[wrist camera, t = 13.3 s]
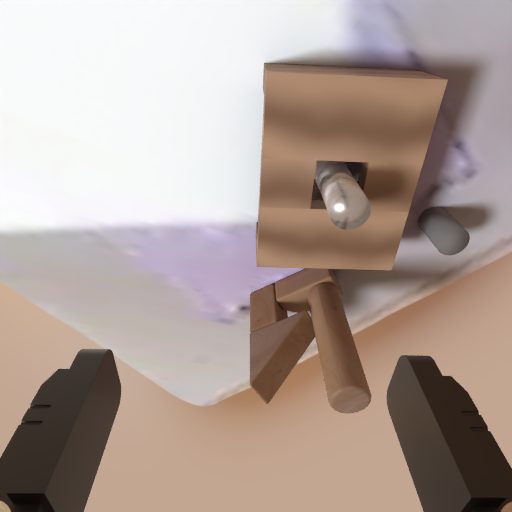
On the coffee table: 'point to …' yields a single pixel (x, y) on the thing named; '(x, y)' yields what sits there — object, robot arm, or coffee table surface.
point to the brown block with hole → (340, 149)
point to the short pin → (443, 231)
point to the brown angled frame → (305, 338)
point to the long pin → (342, 195)
